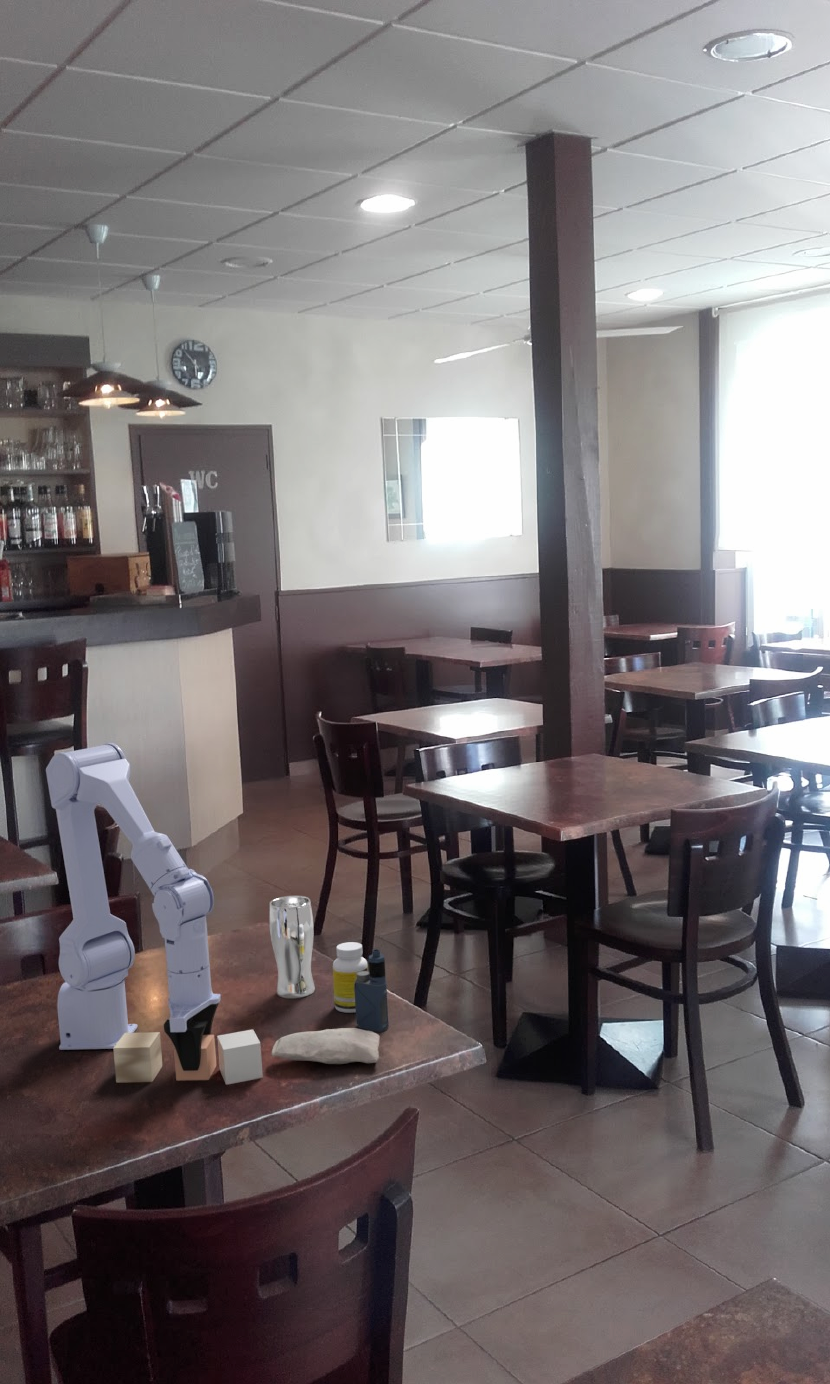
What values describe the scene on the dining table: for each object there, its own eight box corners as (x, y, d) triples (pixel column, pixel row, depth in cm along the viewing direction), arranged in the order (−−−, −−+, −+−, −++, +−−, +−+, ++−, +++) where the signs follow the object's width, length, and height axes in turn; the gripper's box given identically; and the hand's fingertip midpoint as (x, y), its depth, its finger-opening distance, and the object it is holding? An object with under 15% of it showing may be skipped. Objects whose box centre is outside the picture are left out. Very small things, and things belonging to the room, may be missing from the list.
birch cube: (116, 1083, 161) (113, 1048, 161) (127, 1067, 166) (124, 1033, 166) (152, 1082, 161) (149, 1047, 160) (162, 1066, 166) (159, 1032, 165)
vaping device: (382, 1033, 173) (378, 954, 171) (353, 1027, 176) (348, 949, 174) (392, 1027, 175) (388, 948, 173) (363, 1021, 178) (358, 944, 176)
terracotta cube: (176, 1080, 161) (173, 1049, 160) (184, 1066, 165) (182, 1035, 165) (208, 1080, 161) (206, 1048, 160) (216, 1065, 165) (214, 1034, 165)
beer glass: (326, 987, 192) (320, 898, 190) (299, 1002, 186) (293, 910, 184) (292, 981, 196) (286, 893, 194) (265, 995, 190) (259, 905, 188)
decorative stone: (380, 1042, 160) (269, 1050, 160) (381, 1072, 161) (271, 1080, 160) (378, 1012, 170) (273, 1020, 169) (379, 1041, 171) (275, 1048, 170)
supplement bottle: (365, 1014, 180) (361, 952, 179) (330, 1013, 181) (326, 951, 180) (373, 1001, 186) (370, 940, 184) (340, 1000, 187) (336, 940, 185)
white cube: (226, 1085, 159) (223, 1049, 158) (219, 1070, 164) (217, 1035, 163) (262, 1078, 160) (260, 1043, 160) (255, 1063, 165) (253, 1029, 165)
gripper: (204, 985, 154) (212, 1084, 155) (229, 947, 168) (235, 1038, 170) (151, 986, 154) (159, 1085, 156) (180, 948, 169) (187, 1040, 170)
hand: (195, 1061), depth 163 cm, fingers closed on terracotta cube, 4 cm apart
